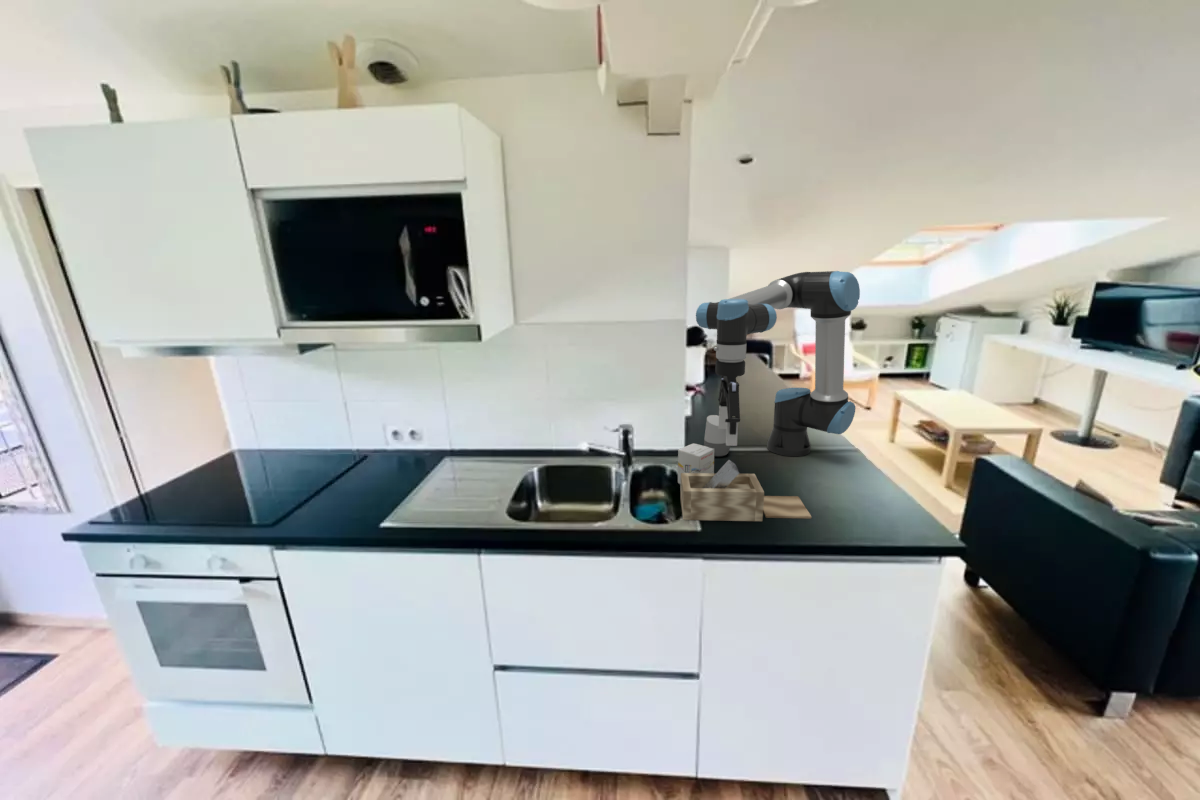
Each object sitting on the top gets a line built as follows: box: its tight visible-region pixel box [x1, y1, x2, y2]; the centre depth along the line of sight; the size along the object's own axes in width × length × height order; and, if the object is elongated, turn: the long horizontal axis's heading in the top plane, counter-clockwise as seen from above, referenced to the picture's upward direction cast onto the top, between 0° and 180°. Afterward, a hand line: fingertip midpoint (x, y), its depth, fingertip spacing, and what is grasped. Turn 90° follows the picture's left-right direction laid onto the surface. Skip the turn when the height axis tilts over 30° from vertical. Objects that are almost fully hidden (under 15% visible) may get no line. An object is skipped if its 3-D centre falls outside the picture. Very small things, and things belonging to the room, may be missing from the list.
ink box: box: [677, 443, 715, 485], centre depth 154 cm, size 9×8×12 cm
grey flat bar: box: [703, 459, 740, 489], centre depth 136 cm, size 16×6×2 cm
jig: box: [680, 472, 765, 522], centre depth 137 cm, size 21×12×9 cm, turn 85°
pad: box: [763, 495, 812, 519], centre depth 138 cm, size 12×12×1 cm
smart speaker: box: [703, 414, 731, 458], centre depth 177 cm, size 10×9×14 cm
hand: (727, 436), depth 132 cm, fingers open, 13 cm apart
